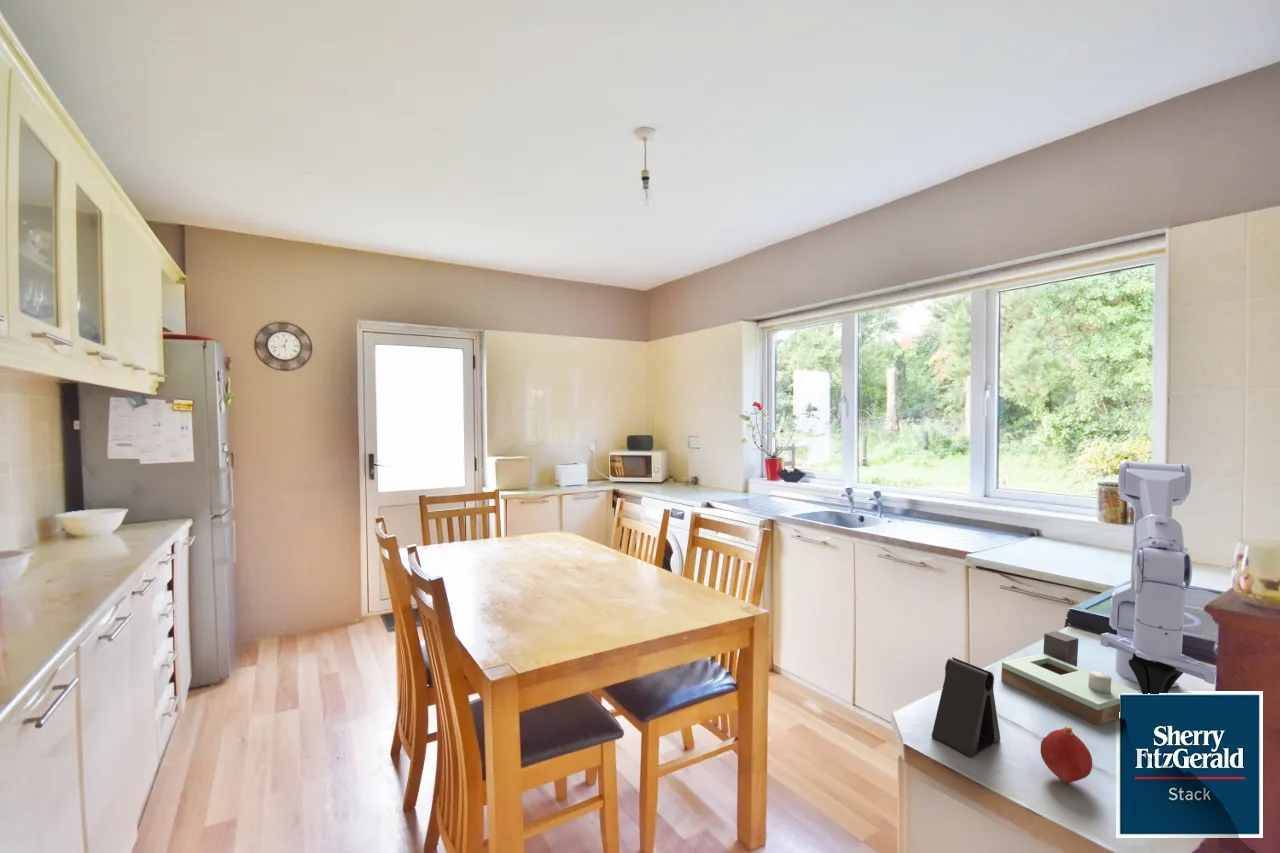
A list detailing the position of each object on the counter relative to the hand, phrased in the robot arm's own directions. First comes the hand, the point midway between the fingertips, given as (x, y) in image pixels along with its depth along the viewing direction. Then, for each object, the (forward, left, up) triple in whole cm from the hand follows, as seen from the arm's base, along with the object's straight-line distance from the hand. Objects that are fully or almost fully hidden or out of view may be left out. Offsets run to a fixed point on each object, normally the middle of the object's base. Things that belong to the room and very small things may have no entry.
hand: (1153, 706), depth 89 cm
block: (-10, -20, -6) cm, 23 cm away
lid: (0, -12, -2) cm, 13 cm away
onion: (+25, +1, -6) cm, 26 cm away
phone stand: (+29, -11, -6) cm, 31 cm away
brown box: (0, -13, -5) cm, 14 cm away
